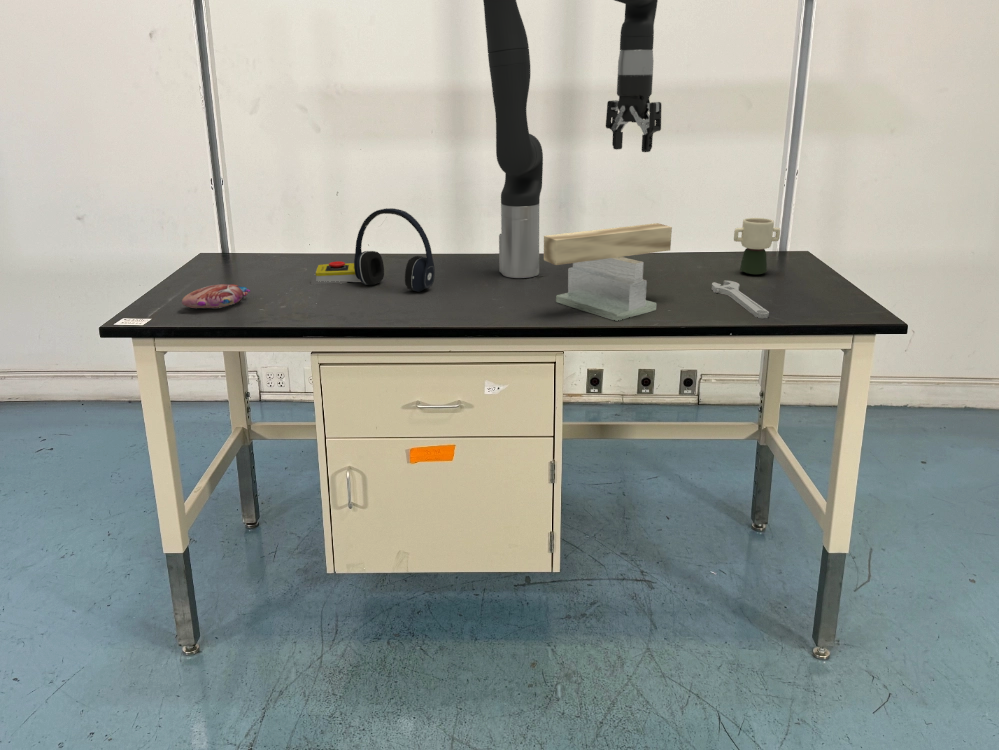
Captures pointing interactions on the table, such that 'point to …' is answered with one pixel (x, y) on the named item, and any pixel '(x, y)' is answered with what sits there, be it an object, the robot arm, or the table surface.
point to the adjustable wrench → (740, 298)
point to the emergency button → (336, 272)
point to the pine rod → (606, 243)
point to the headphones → (371, 262)
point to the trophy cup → (756, 243)
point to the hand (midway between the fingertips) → (631, 150)
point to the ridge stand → (608, 288)
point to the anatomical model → (215, 296)
